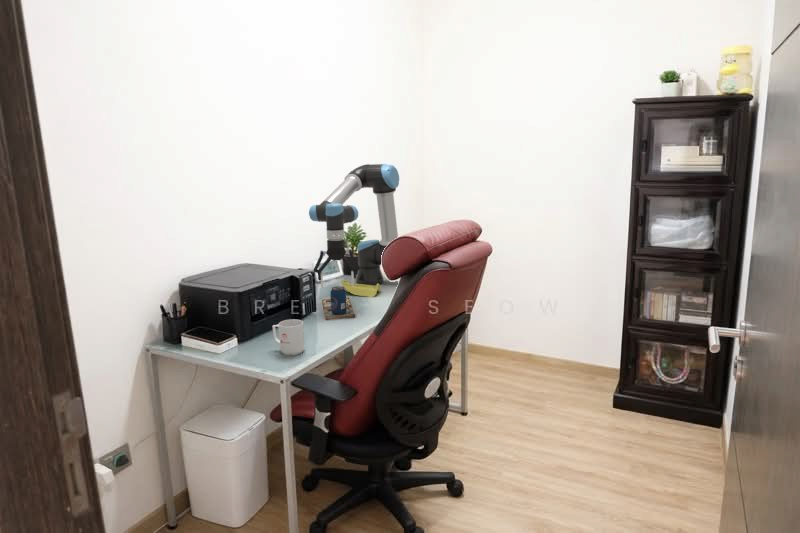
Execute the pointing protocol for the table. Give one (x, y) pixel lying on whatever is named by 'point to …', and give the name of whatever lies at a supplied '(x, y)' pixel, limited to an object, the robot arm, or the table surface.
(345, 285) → the plastic component
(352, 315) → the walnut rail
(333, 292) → the soda can
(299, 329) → the mug
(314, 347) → the table surface
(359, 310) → the table surface
